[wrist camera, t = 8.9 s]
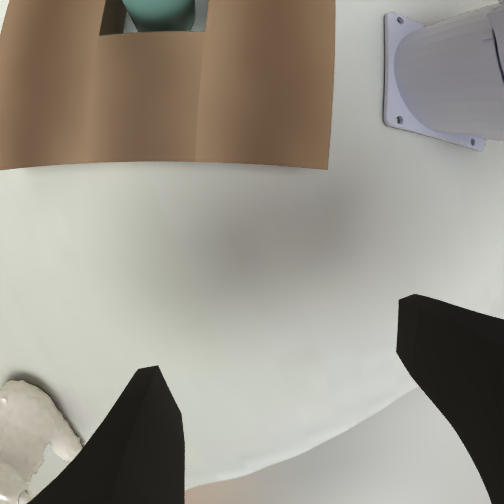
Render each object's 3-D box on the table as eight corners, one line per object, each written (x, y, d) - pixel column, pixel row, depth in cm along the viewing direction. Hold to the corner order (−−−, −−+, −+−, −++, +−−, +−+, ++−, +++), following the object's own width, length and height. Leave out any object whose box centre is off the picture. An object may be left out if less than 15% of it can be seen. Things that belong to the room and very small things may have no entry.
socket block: (310, -63, 13) (331, -94, 9) (300, 164, 17) (327, 169, 14) (65, -61, 10) (46, -89, 6) (24, 164, 15) (-13, 171, 11)
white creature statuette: (-3, 419, 20) (-43, 512, 9) (-20, 351, 18) (-88, 454, 6) (85, 451, 22) (65, 560, 11) (82, 389, 20) (43, 526, 9)
